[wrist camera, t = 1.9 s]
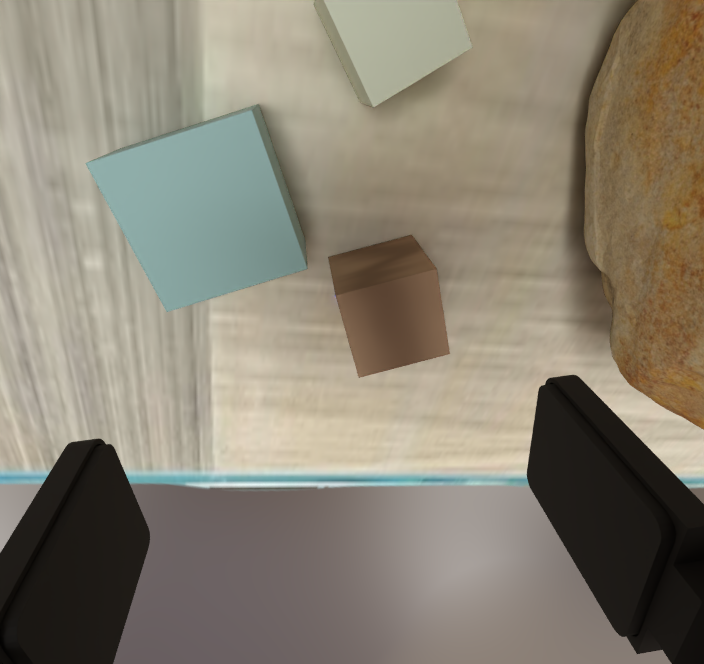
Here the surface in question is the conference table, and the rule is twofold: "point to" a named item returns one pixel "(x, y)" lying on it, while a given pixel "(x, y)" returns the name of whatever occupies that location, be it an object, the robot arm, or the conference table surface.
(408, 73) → the sage cube
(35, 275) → the conference table surface
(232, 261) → the teal block
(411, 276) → the walnut cube
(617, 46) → the rough brown rock
